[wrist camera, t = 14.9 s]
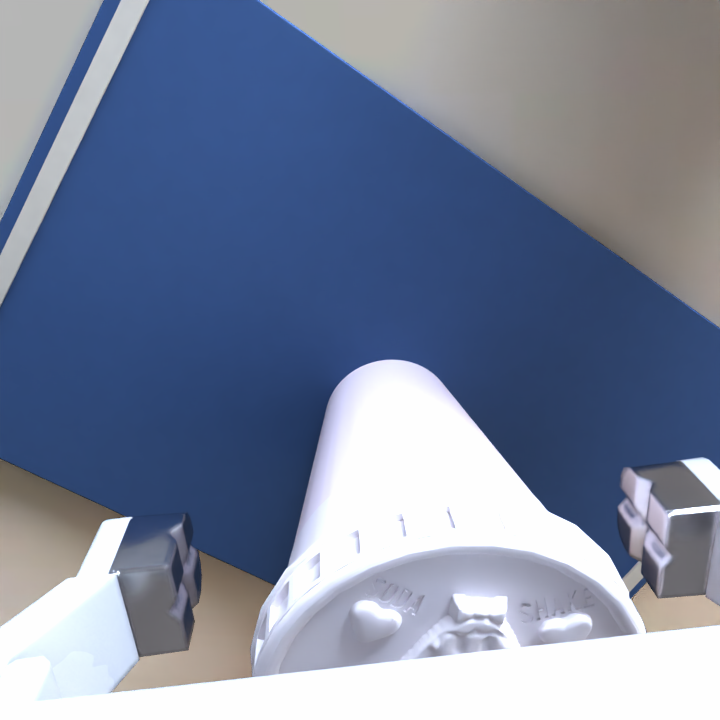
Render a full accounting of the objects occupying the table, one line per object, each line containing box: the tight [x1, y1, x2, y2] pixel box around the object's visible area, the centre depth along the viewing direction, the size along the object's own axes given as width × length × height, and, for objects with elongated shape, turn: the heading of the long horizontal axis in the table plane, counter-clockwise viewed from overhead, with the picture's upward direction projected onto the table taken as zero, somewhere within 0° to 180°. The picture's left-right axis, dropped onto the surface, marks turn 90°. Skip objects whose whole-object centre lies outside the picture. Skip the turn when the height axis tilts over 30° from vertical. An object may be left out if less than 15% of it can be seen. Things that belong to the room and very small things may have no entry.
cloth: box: [0, 0, 720, 599], centre depth 19 cm, size 14×22×1 cm, turn 57°
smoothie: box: [250, 360, 647, 677], centre depth 13 cm, size 6×6×14 cm
